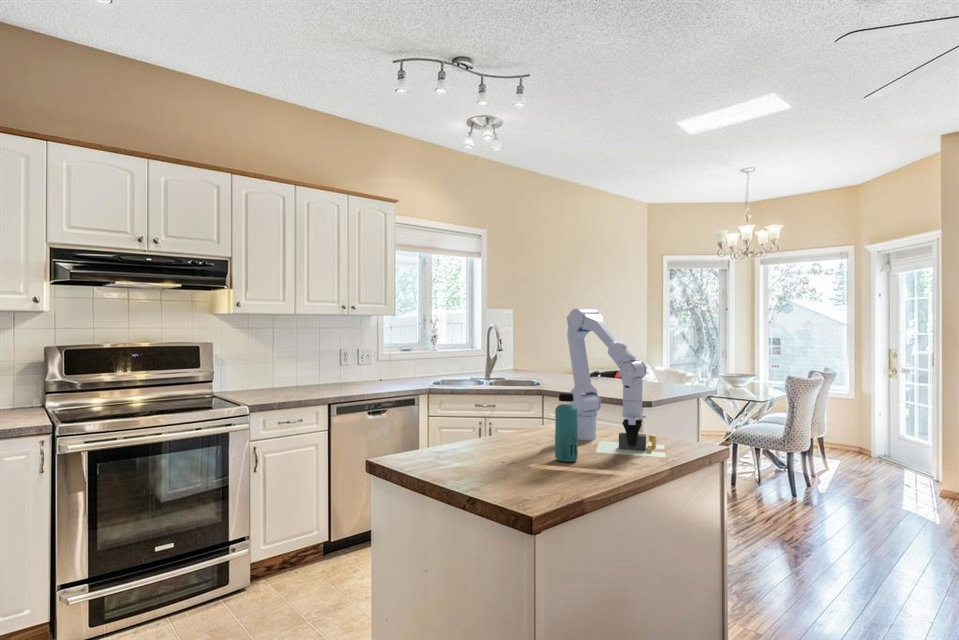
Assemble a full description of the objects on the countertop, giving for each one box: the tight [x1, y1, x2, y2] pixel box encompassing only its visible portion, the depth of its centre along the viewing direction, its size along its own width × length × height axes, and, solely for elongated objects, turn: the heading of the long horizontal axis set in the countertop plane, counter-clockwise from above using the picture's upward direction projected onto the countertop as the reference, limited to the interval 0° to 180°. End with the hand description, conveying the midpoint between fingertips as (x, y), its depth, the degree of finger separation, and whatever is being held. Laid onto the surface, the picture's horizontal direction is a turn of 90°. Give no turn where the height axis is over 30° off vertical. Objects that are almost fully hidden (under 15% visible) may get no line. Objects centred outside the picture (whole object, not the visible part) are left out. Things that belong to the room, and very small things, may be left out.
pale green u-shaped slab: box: [595, 434, 667, 459], centre depth 171 cm, size 20×16×4 cm
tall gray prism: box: [618, 432, 647, 450], centre depth 170 cm, size 8×4×4 cm, turn 74°
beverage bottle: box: [554, 392, 579, 462], centre depth 156 cm, size 6×7×20 cm
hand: (632, 444), depth 170 cm, fingers closed on tall gray prism, 3 cm apart
